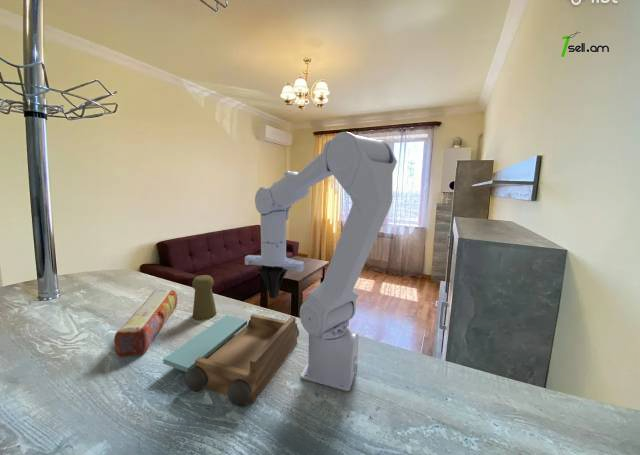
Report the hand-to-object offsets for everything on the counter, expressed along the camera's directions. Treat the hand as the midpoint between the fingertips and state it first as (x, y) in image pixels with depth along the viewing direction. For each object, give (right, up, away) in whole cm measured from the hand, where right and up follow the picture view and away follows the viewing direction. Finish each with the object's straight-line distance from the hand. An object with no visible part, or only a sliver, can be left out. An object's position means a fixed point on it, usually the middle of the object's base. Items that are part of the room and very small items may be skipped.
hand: (273, 296), depth 63 cm
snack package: (-30, -9, +2) cm, 32 cm away
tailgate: (-9, -8, -7) cm, 15 cm away
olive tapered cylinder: (-21, -8, +10) cm, 24 cm away
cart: (-3, -11, -9) cm, 14 cm away
